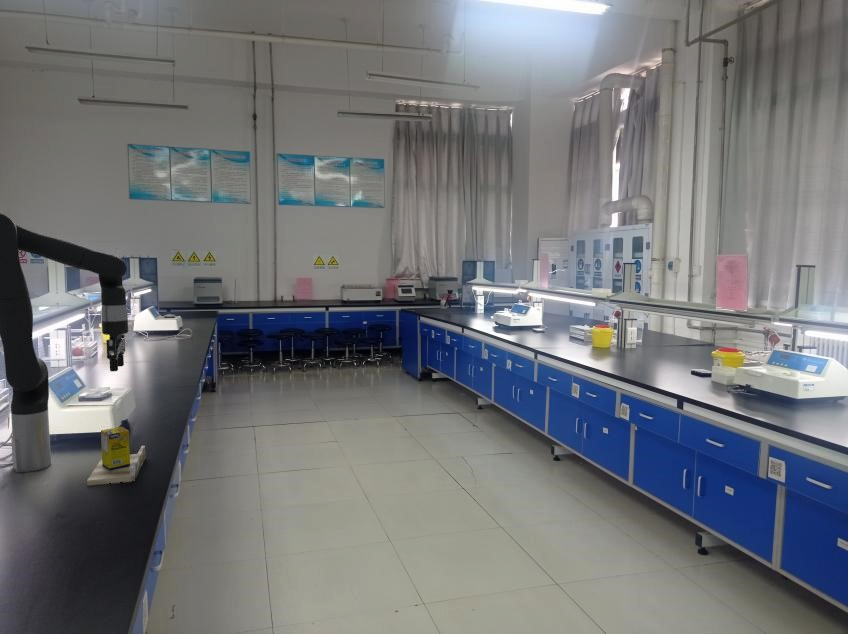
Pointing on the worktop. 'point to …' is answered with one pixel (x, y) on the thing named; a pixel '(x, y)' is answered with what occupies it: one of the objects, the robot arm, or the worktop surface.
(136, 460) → the cream serving tray
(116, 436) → the supplement box
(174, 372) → the worktop surface
